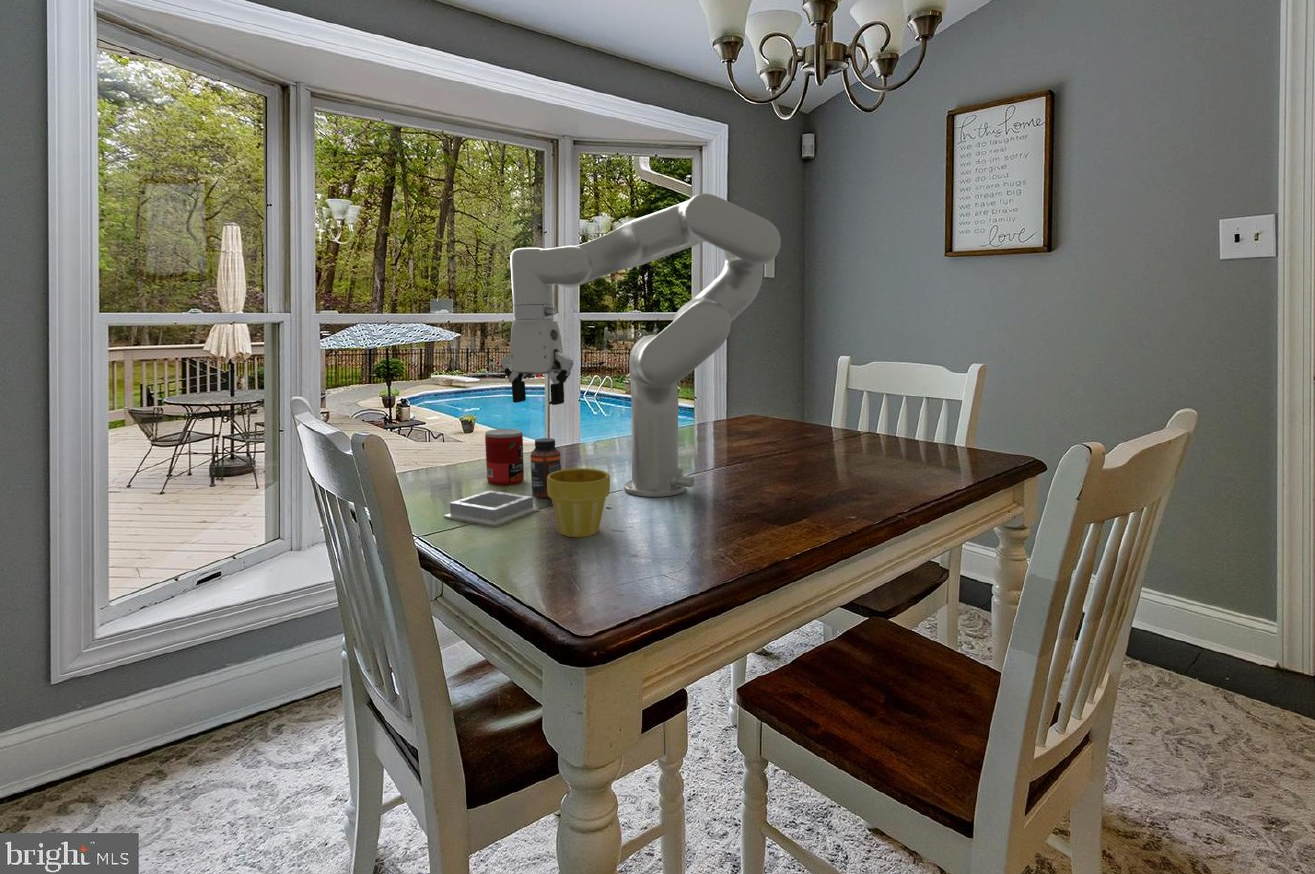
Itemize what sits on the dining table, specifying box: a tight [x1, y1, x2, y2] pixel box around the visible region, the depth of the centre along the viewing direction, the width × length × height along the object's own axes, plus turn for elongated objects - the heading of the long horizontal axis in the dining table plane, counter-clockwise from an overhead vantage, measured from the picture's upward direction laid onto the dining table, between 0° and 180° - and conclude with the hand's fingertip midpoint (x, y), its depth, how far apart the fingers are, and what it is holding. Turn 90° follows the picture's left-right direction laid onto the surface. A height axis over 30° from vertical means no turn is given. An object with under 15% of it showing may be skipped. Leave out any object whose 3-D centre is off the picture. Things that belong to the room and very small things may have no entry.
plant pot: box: [547, 467, 611, 538], centre depth 122 cm, size 10×10×10 cm
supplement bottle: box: [530, 437, 562, 499], centre depth 146 cm, size 6×6×11 cm
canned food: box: [484, 428, 525, 487], centre depth 158 cm, size 8×8×11 cm
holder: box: [443, 489, 540, 528], centre depth 133 cm, size 12×12×3 cm
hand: (538, 402), depth 144 cm, fingers open, 9 cm apart
